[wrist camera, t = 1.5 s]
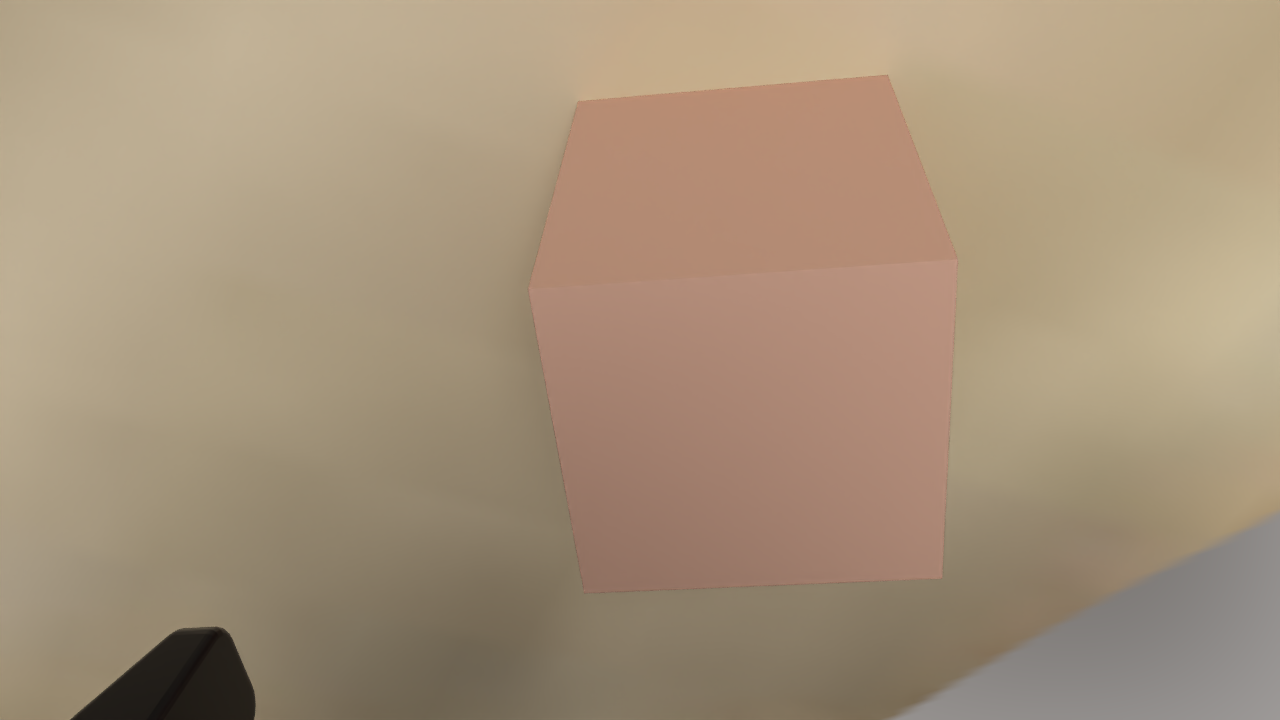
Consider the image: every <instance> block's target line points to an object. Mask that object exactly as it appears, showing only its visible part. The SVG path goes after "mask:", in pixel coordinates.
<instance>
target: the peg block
mask: <svg viewBox="0 0 1280 720" xmlns="http://www.w3.org/2000/svg"><path fill="white" fill-rule="evenodd" d="M957 269H958V258H957V255H956V253H955V250H954V248H953V245H952V242H951V240H950V237H949V234H948V232H947V229H946V227H945V224H944V221H943V219H942V216H941V214H940V211H939V208H938V206H937V203H936V200H935V198H934V195H933V193H932V190H931V187H930V185H929V182H928V179H927V177H926V174H925V172H924V169H923V166H922V164H921V161H920V159H919V156H918V153H917V151H916V148H915V145H914V143H913V140H912V138H911V135H910V132H909V130H908V127H907V124H906V122H905V119H904V117H903V114H902V111H901V109H900V106H899V103H898V101H897V98H896V96H895V93H894V90H893V88H892V85H891V83H890V80H889V77H888V75H880V76H868V77H856V78H845V79H833V80H821V81H809V82H798V83H786V84H774V85H763V86H751V87H739V88H727V89H716V90H704V91H692V92H681V93H669V94H657V95H645V96H634V97H622V98H610V99H599V100H587V101H578V104H577V108H576V112H575V115H574V119H573V123H572V127H571V130H570V134H569V138H568V141H567V145H566V149H565V153H564V156H563V160H562V164H561V168H560V171H559V175H558V179H557V183H556V186H555V190H554V194H553V197H552V201H551V205H550V209H549V212H548V216H547V220H546V224H545V227H544V231H543V235H542V239H541V242H540V246H539V250H538V253H537V257H536V261H535V265H534V268H533V272H532V276H531V280H530V283H529V287H528V292H529V297H530V303H531V308H532V314H533V319H534V324H535V330H536V335H537V341H538V346H539V351H540V357H541V362H542V368H543V373H544V378H545V384H546V389H547V395H548V400H549V405H550V411H551V416H552V422H553V427H554V432H555V438H556V443H557V449H558V454H559V459H560V465H561V470H562V476H563V481H564V486H565V492H566V497H567V503H568V508H569V513H570V519H571V524H572V530H573V535H574V540H575V546H576V551H577V557H578V562H579V567H580V573H581V578H582V584H583V589H584V593H605V592H629V591H653V590H677V589H701V588H725V587H749V586H774V585H798V584H822V583H846V582H870V581H894V580H918V579H942V570H943V550H944V530H945V510H946V490H947V470H948V450H949V430H950V410H951V389H952V369H953V349H954V329H955V309H956V289H957Z"/></svg>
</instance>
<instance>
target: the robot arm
mask: <svg viewBox="0 0 1280 720" xmlns="http://www.w3.org/2000/svg"><path fill="white" fill-rule="evenodd" d="M255 706H256V705H255V694H254V690H253V686H252V684H251V682H250V679H249V677H248V675H247V672H246V670H245V668H244V665H243V663H242V661H241V658H240V656H239V653H238V651H237V649H236V646H235V644H234V642H233V639H232V638H231V636H230V634H229V633H228V632H227V631H226V630H225V629H223V628H219V627H200V628H183V629H179V630H177V631H175V632H173V633H171V634H170V635H169V636H167V637H166V638H165V639H164V640H163V641H162V642H160V643H159V644H158V645H157V646H156V647H155V648H153V649H152V650H151V651H150V652H149V653H147V654H146V655H145V656H144V657H143V658H142V659H140V660H139V661H138V662H137V663H136V664H135V665H133V666H132V667H131V668H130V669H129V670H128V671H126V672H125V673H124V674H123V675H122V676H121V677H119V678H118V679H117V680H116V681H115V682H114V683H112V684H111V685H110V686H109V687H108V688H106V689H105V690H104V691H103V692H102V693H101V694H99V695H98V696H97V697H96V698H95V699H94V700H92V701H91V702H90V703H89V704H88V705H87V706H85V707H84V708H83V709H82V710H81V711H80V712H78V713H77V714H76V715H75V716H74V717H73V718H71V719H70V720H254V717H255Z"/></svg>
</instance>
